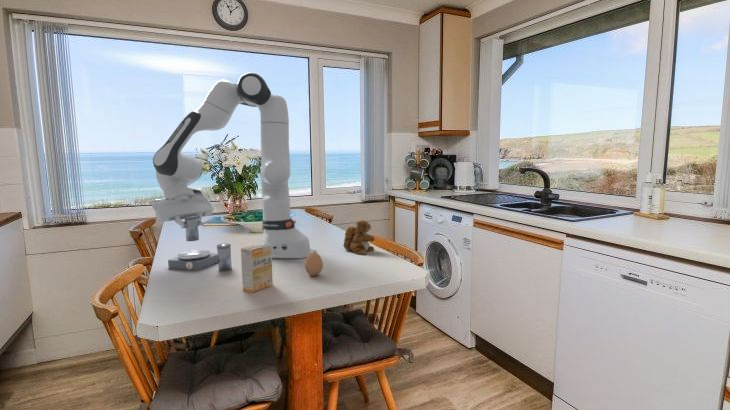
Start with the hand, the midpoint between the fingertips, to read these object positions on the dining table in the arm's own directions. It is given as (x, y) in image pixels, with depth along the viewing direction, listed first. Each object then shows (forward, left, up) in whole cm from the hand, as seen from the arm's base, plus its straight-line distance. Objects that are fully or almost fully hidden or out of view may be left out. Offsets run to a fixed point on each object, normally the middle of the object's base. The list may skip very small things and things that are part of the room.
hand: (192, 226), depth 141 cm
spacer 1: (+1, 0, -5) cm, 5 cm away
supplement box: (-37, +16, -15) cm, 43 cm away
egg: (-49, +1, -15) cm, 51 cm away
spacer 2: (-15, +2, -15) cm, 21 cm away
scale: (0, 0, -15) cm, 15 cm away
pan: (0, 0, -11) cm, 11 cm away
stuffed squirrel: (-53, -34, -15) cm, 65 cm away
